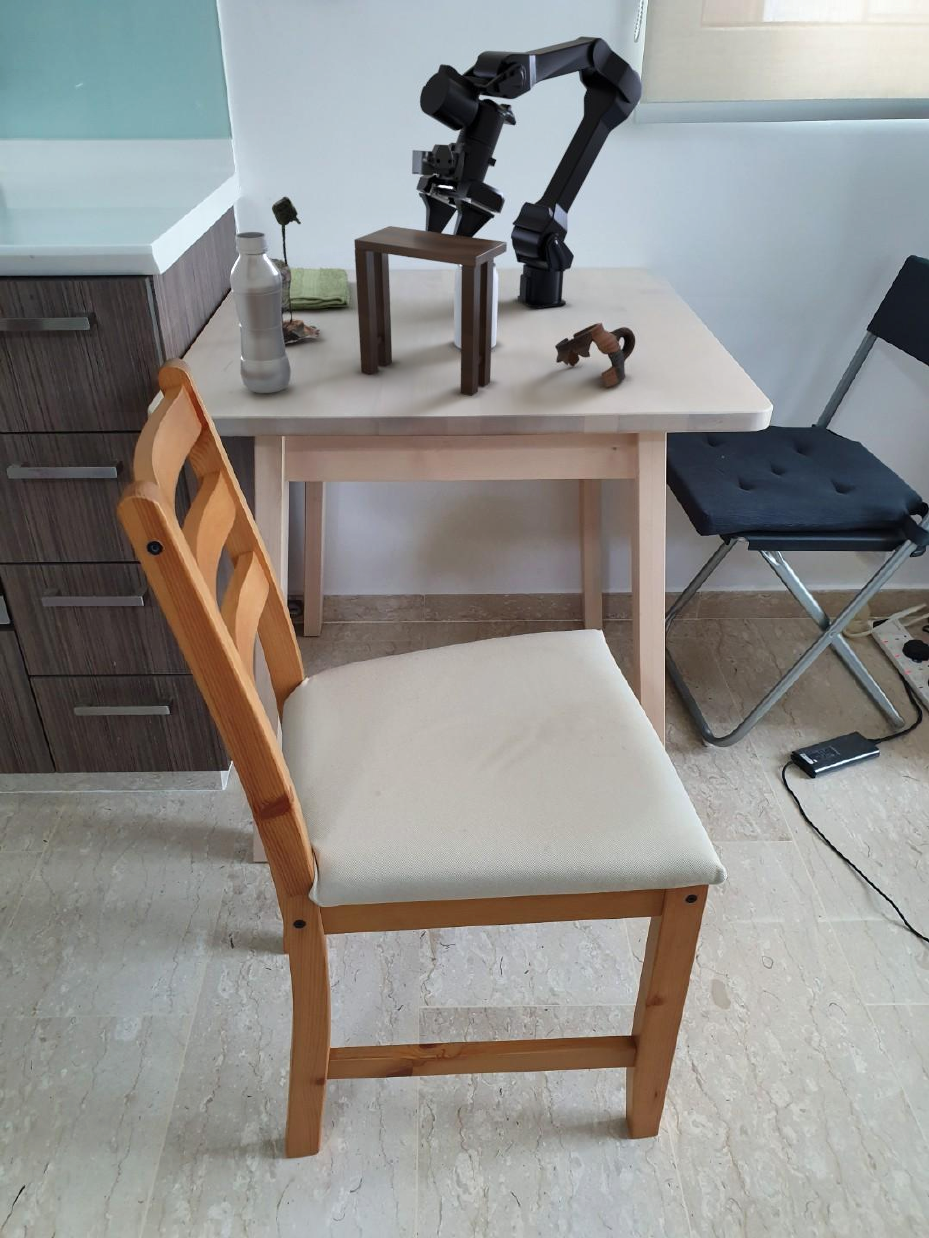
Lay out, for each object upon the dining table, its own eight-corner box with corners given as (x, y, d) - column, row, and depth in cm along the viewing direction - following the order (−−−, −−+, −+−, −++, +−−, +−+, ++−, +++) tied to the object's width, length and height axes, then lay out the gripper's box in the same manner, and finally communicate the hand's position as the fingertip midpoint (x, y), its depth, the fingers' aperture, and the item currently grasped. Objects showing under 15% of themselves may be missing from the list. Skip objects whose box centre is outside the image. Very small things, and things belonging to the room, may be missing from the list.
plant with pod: (250, 330, 146) (233, 194, 135) (322, 329, 147) (311, 193, 135) (244, 348, 140) (225, 206, 128) (319, 346, 140) (308, 205, 129)
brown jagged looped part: (595, 398, 126) (571, 341, 124) (560, 405, 135) (536, 352, 132) (659, 359, 130) (637, 304, 127) (621, 369, 138) (599, 317, 136)
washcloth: (271, 312, 154) (269, 293, 152) (279, 282, 168) (277, 264, 166) (351, 311, 155) (349, 291, 153) (351, 281, 169) (350, 263, 167)
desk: (394, 353, 138) (389, 226, 128) (502, 374, 132) (506, 242, 121) (360, 372, 132) (353, 240, 121) (472, 396, 125) (475, 257, 115)
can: (492, 354, 139) (494, 271, 132) (450, 350, 140) (450, 268, 133) (499, 340, 144) (502, 260, 137) (458, 337, 145) (459, 257, 138)
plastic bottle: (245, 381, 128) (225, 229, 117) (294, 380, 129) (279, 229, 117) (240, 399, 123) (219, 241, 112) (291, 398, 124) (275, 241, 112)
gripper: (404, 120, 140) (371, 224, 145) (458, 120, 125) (419, 236, 130) (465, 151, 146) (431, 250, 151) (523, 155, 131) (484, 264, 136)
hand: (439, 250), depth 142 cm, fingers open, 9 cm apart
